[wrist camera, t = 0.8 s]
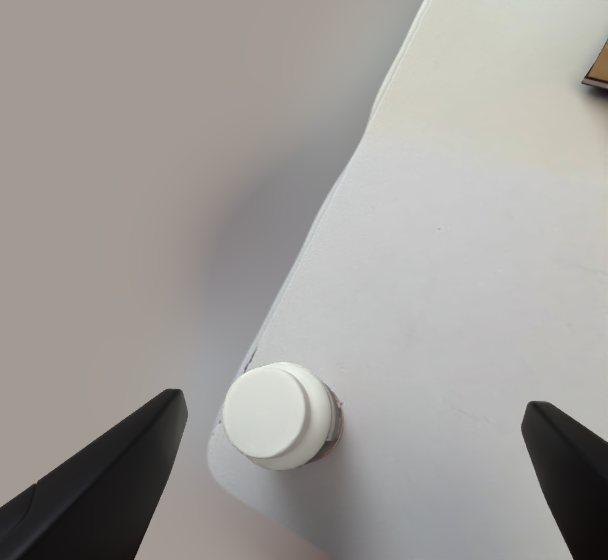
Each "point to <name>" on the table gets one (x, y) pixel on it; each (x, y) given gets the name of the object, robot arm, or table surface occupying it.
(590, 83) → the book
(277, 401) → the pill bottle
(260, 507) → the table surface
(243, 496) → the table surface
